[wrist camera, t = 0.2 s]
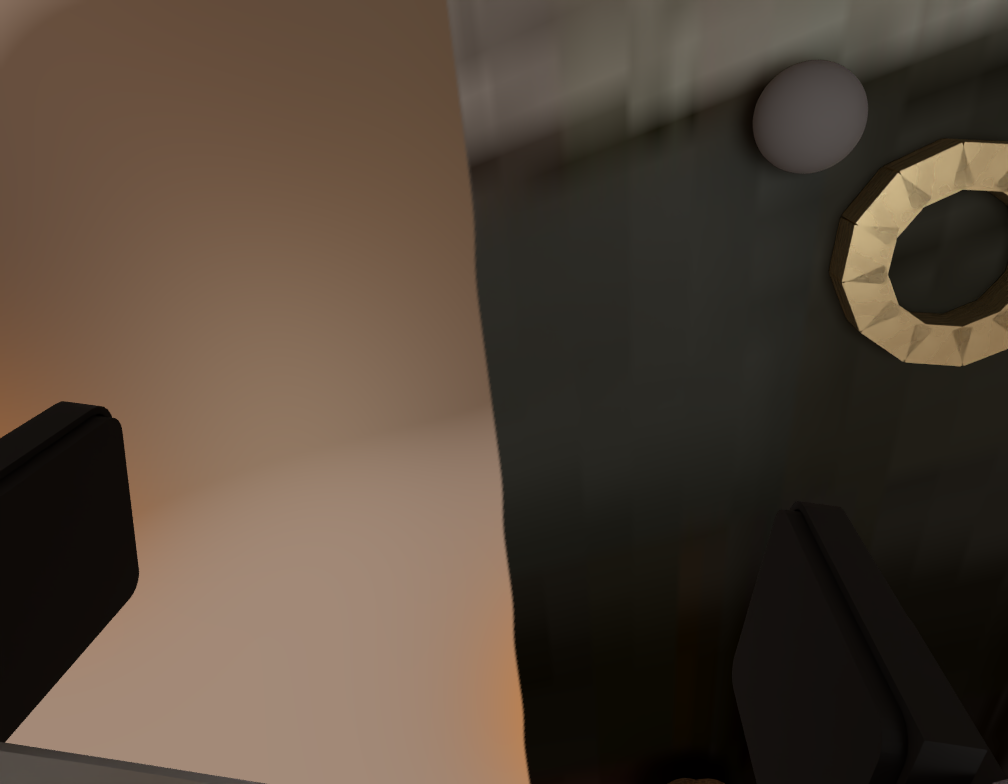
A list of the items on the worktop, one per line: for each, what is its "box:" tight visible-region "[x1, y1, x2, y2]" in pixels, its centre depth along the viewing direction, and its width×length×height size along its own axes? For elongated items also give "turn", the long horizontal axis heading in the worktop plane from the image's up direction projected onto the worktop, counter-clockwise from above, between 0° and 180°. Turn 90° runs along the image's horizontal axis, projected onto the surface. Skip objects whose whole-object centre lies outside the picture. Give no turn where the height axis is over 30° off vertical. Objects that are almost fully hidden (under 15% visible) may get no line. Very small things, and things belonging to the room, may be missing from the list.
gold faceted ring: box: [829, 138, 1008, 366], centre depth 42 cm, size 12×12×2 cm
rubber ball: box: [753, 60, 868, 174], centre depth 39 cm, size 6×6×6 cm
